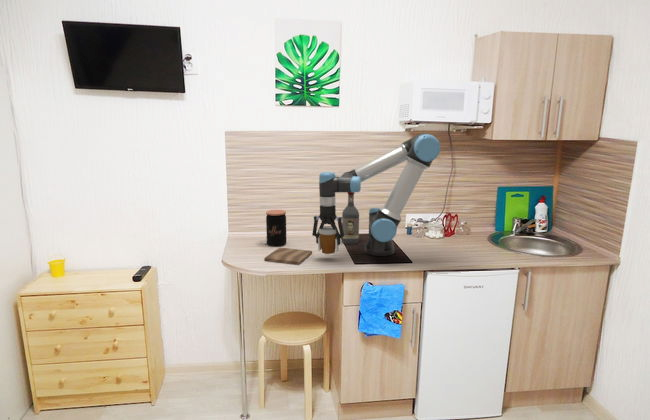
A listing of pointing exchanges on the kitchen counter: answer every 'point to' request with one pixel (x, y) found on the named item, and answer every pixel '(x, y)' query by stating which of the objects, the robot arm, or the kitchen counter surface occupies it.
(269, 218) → the coffee jar
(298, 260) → the walnut board
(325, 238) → the disposable coffee cup
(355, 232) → the liquor
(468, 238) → the kitchen counter surface
